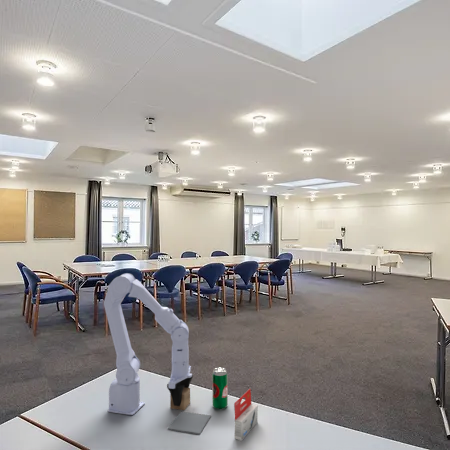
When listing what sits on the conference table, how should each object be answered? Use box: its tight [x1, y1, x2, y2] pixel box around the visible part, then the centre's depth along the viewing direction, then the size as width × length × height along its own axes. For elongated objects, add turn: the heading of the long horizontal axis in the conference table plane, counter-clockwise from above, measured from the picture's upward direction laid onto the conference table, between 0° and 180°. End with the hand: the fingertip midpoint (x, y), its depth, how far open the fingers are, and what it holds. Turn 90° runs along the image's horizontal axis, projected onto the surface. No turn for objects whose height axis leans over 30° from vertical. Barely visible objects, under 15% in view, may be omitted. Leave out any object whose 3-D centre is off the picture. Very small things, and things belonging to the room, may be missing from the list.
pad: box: [167, 410, 212, 435], centre depth 102 cm, size 10×10×1 cm
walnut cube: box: [169, 387, 191, 411], centre depth 113 cm, size 5×5×5 cm
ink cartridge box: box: [233, 388, 259, 442], centre depth 98 cm, size 2×11×10 cm, turn 151°
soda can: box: [211, 367, 229, 410], centre depth 112 cm, size 5×5×12 cm
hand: (180, 401), depth 113 cm, fingers closed on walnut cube, 5 cm apart
